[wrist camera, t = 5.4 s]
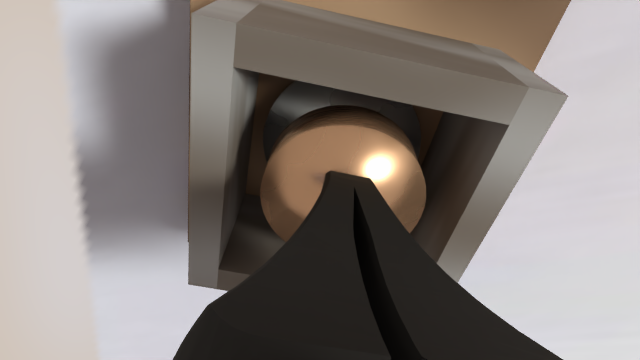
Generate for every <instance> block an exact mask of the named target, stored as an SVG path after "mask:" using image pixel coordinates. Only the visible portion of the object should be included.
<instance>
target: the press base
mask: <svg viewBox="0 0 640 360" xmlns="http://www.w3.org/2000/svg"><path fill="white" fill-rule="evenodd" d="M570 1H571V0H190V76H189V182H188V242H189V272H188V284H189V285H196V286H202V287H208V288H214V289H220V290H226V291H230V290H231V289H233V288H234V287H236V286H237V285H238V284H240V283H241V282H243V281H244V280H245V279H246V278H248V277H249V276H250V275H251V274H252V273H254V272H255V271H256V270H257V269H259V268H260V267H261V266H262V265H263V264H265V263H266V262H267V261H268V260H269V259H270V258H271V257H272V256H273V255H274V254H275V253H276V252H277V251H278V250H279V249H280V248H281V247H282V246H283V245H284V244H285V243H286V242H285V241H283V240H282V239H281V238H280V237H279V236H278V235H277V234H276V233H275V231H274V230H273V229H272V228H271V226H270V225H269V223H268V221H267V219H266V217H265V215H264V213H263V209H262V205H261V198H260V189H261V182H262V178H263V174H264V171H265V168H266V165H267V161H266V158H265V153H264V147H263V132H264V127H265V122H266V120H267V117H268V114H269V112H270V109H271V108H272V106H273V104H274V102H275V101H276V99H277V98H278V97H279V95H280V94H281V93H282V92H283V91H284V90H285V89H286V88H287V87H288V86H289V85H290V84H292V83H293V82H294V81H296V80H298V81H302V82H307V83H312V84H316V85H321V86H326V87H331V88H335V89H340V90H345V91H350V92H354V93H359V94H364V95H369V96H373V97H378V98H383V99H388V100H392V101H397V102H402V103H407V104H411V105H412V106H413V109H414V111H415V113H416V115H417V118H418V121H419V125H420V132H421V146H420V152H419V156H418V162H419V164H420V167H421V170H422V173H423V176H424V179H425V184H426V202H425V207H424V210H423V213H422V215H421V218H420V219H419V221H418V223H417V225H416V226H415V227H414V229H413V230H412V231H411V232H410V235H411V236H412V237H413V238H414V239H415V241H416V242H417V243H418V244H419V245H420V246H421V248H422V249H423V250H424V251H425V252H426V253H427V254H428V255H429V256H430V257H431V258H432V259H433V260H434V261H435V262H436V263H437V264H438V265H439V266H440V267H441V268H442V269H443V270H444V271H445V272H446V273H447V274H448V275H449V276H450V277H451V278H452V279H453V280H454V281H456V282H457V283H458V281H459V279H460V278H461V276H462V274H463V273H464V271H465V269H466V268H467V266H468V264H469V263H470V261H471V259H472V258H473V256H474V254H475V252H476V251H477V249H478V247H479V246H480V244H481V242H482V241H483V239H484V237H485V236H486V234H487V232H488V231H489V229H490V227H491V226H492V224H493V222H494V220H495V219H496V217H497V215H498V214H499V212H500V210H501V209H502V207H503V205H504V204H505V202H506V200H507V199H508V197H509V195H510V193H511V192H512V190H513V188H514V187H515V185H516V183H517V182H518V180H519V178H520V177H521V175H522V173H523V172H524V170H525V168H526V167H527V165H528V163H529V161H530V160H531V158H532V156H533V155H534V153H535V151H536V150H537V148H538V146H539V145H540V143H541V141H542V140H543V138H544V136H545V135H546V133H547V131H548V129H549V128H550V126H551V124H552V123H553V121H554V119H555V118H556V116H557V114H558V113H559V111H560V109H561V108H562V106H563V104H564V103H565V101H566V99H567V97H568V95H566V94H565V93H563V92H562V91H560V90H559V89H557V88H556V87H554V86H553V85H551V84H550V83H548V82H547V81H545V80H544V79H542V78H541V77H539V76H538V75H536V74H535V73H534V70H535V68H536V66H537V65H538V63H539V61H540V59H541V57H542V55H543V53H544V51H545V49H546V47H547V45H548V43H549V41H550V40H551V38H552V36H553V34H554V32H555V30H556V28H557V26H558V24H559V22H560V20H561V18H562V17H563V15H564V13H565V11H566V9H567V7H568V5H569V3H570Z"/></svg>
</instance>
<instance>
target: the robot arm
mask: <svg viewBox="0 0 640 360" xmlns="http://www.w3.org/2000/svg"><path fill="white" fill-rule="evenodd" d="M173 360H563V359H561V358H560V357H558V356H556V355H555V354H553V353H552V352H550V351H549V350H547V349H546V348H544V347H543V346H541V345H540V344H538V343H536V342H535V341H533V340H532V339H530V338H529V337H527V336H526V335H524V334H523V333H521V332H519V331H518V330H517V329H515V328H514V327H512V326H511V325H510V324H508V323H507V322H506V321H504V320H503V319H501V318H500V317H499V316H497V315H496V314H495V313H493V312H492V311H491V310H489V309H488V308H487V307H485V306H484V305H483V304H482V303H480V302H479V301H478V300H477V299H475V298H474V297H473V296H472V295H471V294H469V293H468V292H467V291H466V290H465V289H464V288H462V287H461V286H460V285H459V284H458V283H457V282H456V281H454V280H453V279H452V278H451V277H450V276H449V275H448V274H447V273H446V272H445V271H444V270H443V269H442V268H441V267H440V266H439V265H438V264H437V263H436V262H435V261H434V260H433V259H432V258H431V257H430V256H429V255H428V254H427V253H426V252H425V251H424V250H423V249H422V248H421V246H420V245H419V244H418V243H417V242H416V241H415V239H414V238H413V237H412V236H411V235H410V233H409V232H408V231H407V230H406V228H405V227H404V226H403V225H402V223H401V222H400V221H399V219H398V218H397V217H396V215H395V214H394V212H393V211H392V210H391V208H390V207H389V205H388V204H387V202H386V201H385V199H384V198H383V196H382V195H381V193H380V192H379V190H378V189H377V187H376V186H375V184H374V183H373V181H372V180H371V179H370V178H366V177H361V176H356V175H351V174H346V173H341V172H335V171H329V172H327V173H326V174H325V178H324V182H323V186H322V190H321V193H320V195H319V197H318V199H317V201H316V202H315V204H314V206H313V208H312V209H311V211H310V212H309V214H308V215H307V217H306V218H305V220H304V221H303V222H302V224H301V225H300V226H299V228H298V229H297V230H296V232H295V233H294V234H293V235H292V236H291V237H290V239H289V240H288V241H287V242H286V243H285V244H284V245H283V246H282V247H281V248H280V249H279V250H278V251H277V252H276V253H275V254H274V255H273V256H272V257H271V258H270V259H269V260H268V261H267V262H266V263H265V264H263V265H262V266H261V267H260V268H259V269H257V270H256V271H255V272H254V273H252V274H251V275H250V276H249V277H248V278H246V279H245V280H244V281H243V282H241V283H240V284H238V285H237V286H236V287H234V288H233V289H231V290H230V291H228V292H227V293H225V294H224V295H222V296H221V297H219V298H218V299H216V300H215V301H213V302H212V303H210V304H209V305H208V306H207V307H206V308H205V310H204V311H203V312H202V314H201V315H200V316H199V318H198V319H197V321H196V322H195V323H194V325H193V326H192V328H191V329H190V331H189V332H188V334H187V335H186V337H185V339H184V340H183V342H182V344H181V345H180V347H179V349H178V351H177V353H176V355H175V356H174V358H173Z"/></svg>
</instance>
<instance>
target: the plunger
mask: <svg viewBox="0 0 640 360" xmlns="http://www.w3.org/2000/svg"><path fill="white" fill-rule="evenodd" d="M420 146H421V132H420V125H419V121H418V118H417V115H416V113H415V111H414V109H413V106H412V105H411V104H407V103H402V102H397V101H392V100H388V99H383V98H378V97H373V96H369V95H364V94H359V93H354V92H350V91H345V90H340V89H335V88H331V87H326V86H321V85H316V84H312V83H307V82H302V81H298V80H296V81H294V82H293V83H292V84H290V85H289V86H288V87H287V88H286V89H285V90H284V91H283V92H282V93H281V94H280V95H279V97H278V98H277V99H276V101H275V102H274V104H273V106H272V108H271V109H270V112H269V114H268V117H267V120H266V122H265V127H264V132H263V147H264V153H265V158H266V161H267V165H266V168H265V171H264V174H263V178H262V182H261V189H260V198H261V205H262V209H263V213H264V215H265V217H266V219H267V221H268V223H269V225H270V226H271V228H272V229H273V230H274V231H275V233H276V234H277V235H278V236H279V237H280V238H281V239H282V240H283V241H285V242H287V241H288V240H289V239H290V237H291V236H292V235H293V234H294V233H295V232H296V230H297V229H298V228H299V226H300V225H301V224H302V222H303V221H304V220H305V218H306V217H307V215H308V214H309V212H310V211H311V209H312V208H313V206H314V204H315V202H316V201H317V199H318V197H319V195H320V193H321V190H322V186H323V182H324V178H325V174H326V173H327V172H329V171H335V172H341V173H346V174H351V175H356V176H361V177H366V178H370V179H371V180H372V181H373V183H374V184H375V186H376V187H377V189H378V190H379V192H380V193H381V195H382V196H383V198H384V199H385V201H386V202H387V204H388V205H389V207H390V208H391V210H392V211H393V212H394V214H395V215H396V217H397V218H398V219H399V221H400V222H401V223H402V225H403V226H404V227H405V228H406V230H407V231H408V232H409V233H410V232H411V231H412V230H413V229H414V227H415V226H416V225H417V223H418V221H419V219H420V218H421V215H422V213H423V210H424V207H425V202H426V184H425V179H424V176H423V173H422V170H421V167H420V164H419V162H418V156H419V152H420Z"/></svg>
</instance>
